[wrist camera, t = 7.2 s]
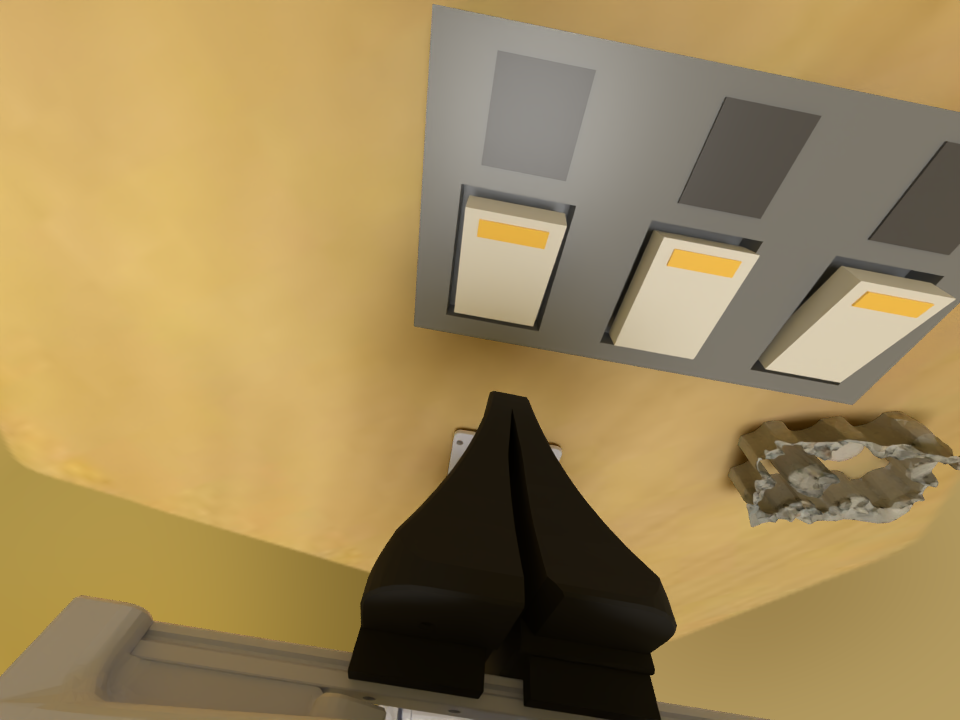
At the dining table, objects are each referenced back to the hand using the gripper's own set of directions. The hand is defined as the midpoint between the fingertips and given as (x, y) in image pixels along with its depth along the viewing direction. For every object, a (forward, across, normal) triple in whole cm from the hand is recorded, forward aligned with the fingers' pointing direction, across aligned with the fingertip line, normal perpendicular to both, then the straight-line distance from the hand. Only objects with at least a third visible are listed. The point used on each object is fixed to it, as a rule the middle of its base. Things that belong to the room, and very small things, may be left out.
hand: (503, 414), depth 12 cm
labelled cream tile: (+6, +1, -4) cm, 7 cm away
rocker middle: (+6, -7, -4) cm, 10 cm away
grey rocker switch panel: (+8, -7, -6) cm, 12 cm away
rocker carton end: (+6, -15, -4) cm, 17 cm away
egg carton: (+9, -23, +6) cm, 26 cm away
